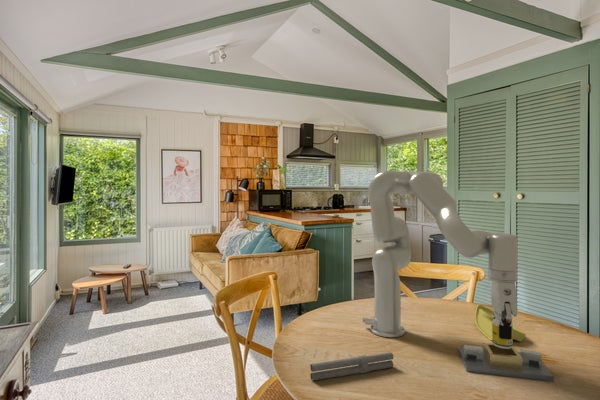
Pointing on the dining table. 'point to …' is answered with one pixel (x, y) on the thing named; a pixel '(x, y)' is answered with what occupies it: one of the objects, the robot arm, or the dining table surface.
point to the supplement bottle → (495, 334)
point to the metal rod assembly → (360, 368)
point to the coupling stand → (504, 362)
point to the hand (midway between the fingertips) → (502, 334)
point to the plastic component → (485, 323)
